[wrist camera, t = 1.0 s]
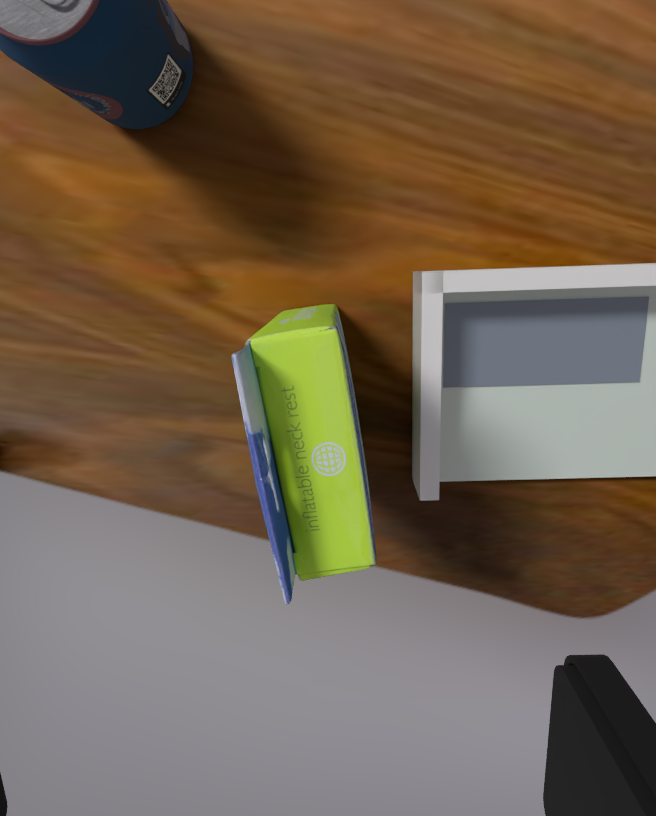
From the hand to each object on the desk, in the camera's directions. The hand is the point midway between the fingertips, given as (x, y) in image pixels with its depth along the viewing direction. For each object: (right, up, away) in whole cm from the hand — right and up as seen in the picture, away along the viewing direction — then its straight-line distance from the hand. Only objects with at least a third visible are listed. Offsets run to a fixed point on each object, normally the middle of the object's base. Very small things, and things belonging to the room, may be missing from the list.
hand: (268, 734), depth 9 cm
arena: (+16, +7, +27) cm, 32 cm away
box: (+1, +7, +28) cm, 28 cm away
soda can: (-10, +25, +23) cm, 36 cm away
